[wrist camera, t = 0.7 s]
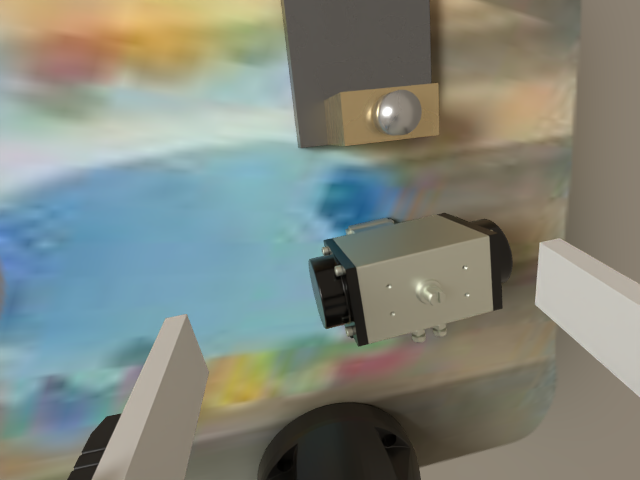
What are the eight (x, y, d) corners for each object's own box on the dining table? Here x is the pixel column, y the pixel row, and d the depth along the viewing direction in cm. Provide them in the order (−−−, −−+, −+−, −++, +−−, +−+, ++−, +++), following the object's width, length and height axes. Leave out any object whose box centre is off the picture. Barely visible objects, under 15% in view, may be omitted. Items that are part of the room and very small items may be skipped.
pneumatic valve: (294, 228, 30) (322, 284, 19) (432, 198, 31) (537, 232, 20) (307, 291, 31) (340, 379, 20) (438, 260, 33) (538, 324, 22)
